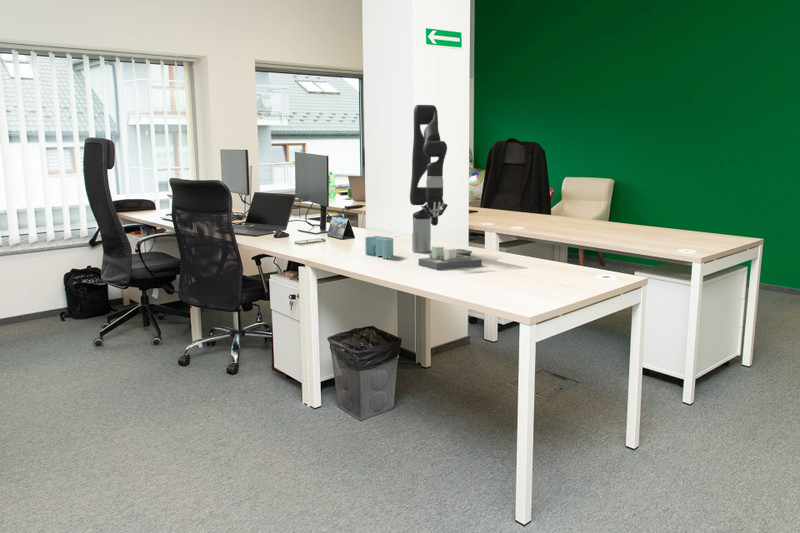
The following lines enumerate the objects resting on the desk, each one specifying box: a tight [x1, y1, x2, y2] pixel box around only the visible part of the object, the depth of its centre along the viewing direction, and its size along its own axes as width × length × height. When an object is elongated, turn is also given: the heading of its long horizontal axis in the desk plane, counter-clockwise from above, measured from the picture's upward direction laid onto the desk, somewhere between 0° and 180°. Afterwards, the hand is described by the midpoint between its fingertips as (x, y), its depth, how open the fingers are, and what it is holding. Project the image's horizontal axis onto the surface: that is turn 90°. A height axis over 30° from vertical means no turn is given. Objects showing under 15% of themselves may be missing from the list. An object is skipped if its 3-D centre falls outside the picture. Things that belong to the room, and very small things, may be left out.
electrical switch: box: [456, 248, 473, 257], centre depth 310 cm, size 9×5×9 cm
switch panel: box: [418, 253, 483, 271], centre depth 288 cm, size 16×24×4 cm, turn 118°
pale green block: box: [431, 245, 445, 259], centre depth 290 cm, size 4×4×5 cm
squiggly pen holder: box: [364, 235, 394, 260], centre depth 318 cm, size 18×10×9 cm, turn 46°
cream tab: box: [444, 247, 457, 261], centre depth 282 cm, size 4×4×5 cm
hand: (434, 225), depth 284 cm, fingers closed
